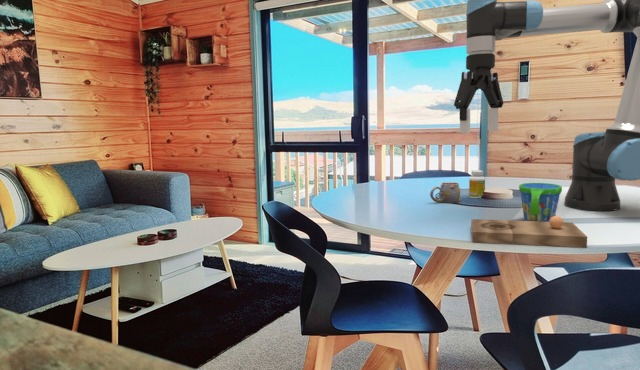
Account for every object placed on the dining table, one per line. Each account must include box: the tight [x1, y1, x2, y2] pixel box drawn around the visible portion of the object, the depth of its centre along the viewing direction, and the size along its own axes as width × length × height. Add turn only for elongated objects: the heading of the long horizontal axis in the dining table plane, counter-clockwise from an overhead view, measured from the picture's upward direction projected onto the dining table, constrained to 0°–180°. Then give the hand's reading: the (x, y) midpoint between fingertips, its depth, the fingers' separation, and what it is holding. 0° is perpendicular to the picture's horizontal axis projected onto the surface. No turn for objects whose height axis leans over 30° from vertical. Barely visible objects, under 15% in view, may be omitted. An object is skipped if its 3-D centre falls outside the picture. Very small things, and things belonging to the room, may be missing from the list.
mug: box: [429, 182, 461, 204], centre depth 158 cm, size 12×7×7 cm, turn 114°
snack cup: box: [518, 182, 563, 222], centre depth 126 cm, size 16×10×10 cm
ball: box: [549, 215, 564, 229], centre depth 109 cm, size 3×3×3 cm
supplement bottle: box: [468, 169, 486, 199], centre depth 166 cm, size 5×5×10 cm
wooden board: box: [470, 218, 588, 249], centre depth 111 cm, size 24×14×2 cm, turn 73°
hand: (479, 132), depth 129 cm, fingers open, 13 cm apart
